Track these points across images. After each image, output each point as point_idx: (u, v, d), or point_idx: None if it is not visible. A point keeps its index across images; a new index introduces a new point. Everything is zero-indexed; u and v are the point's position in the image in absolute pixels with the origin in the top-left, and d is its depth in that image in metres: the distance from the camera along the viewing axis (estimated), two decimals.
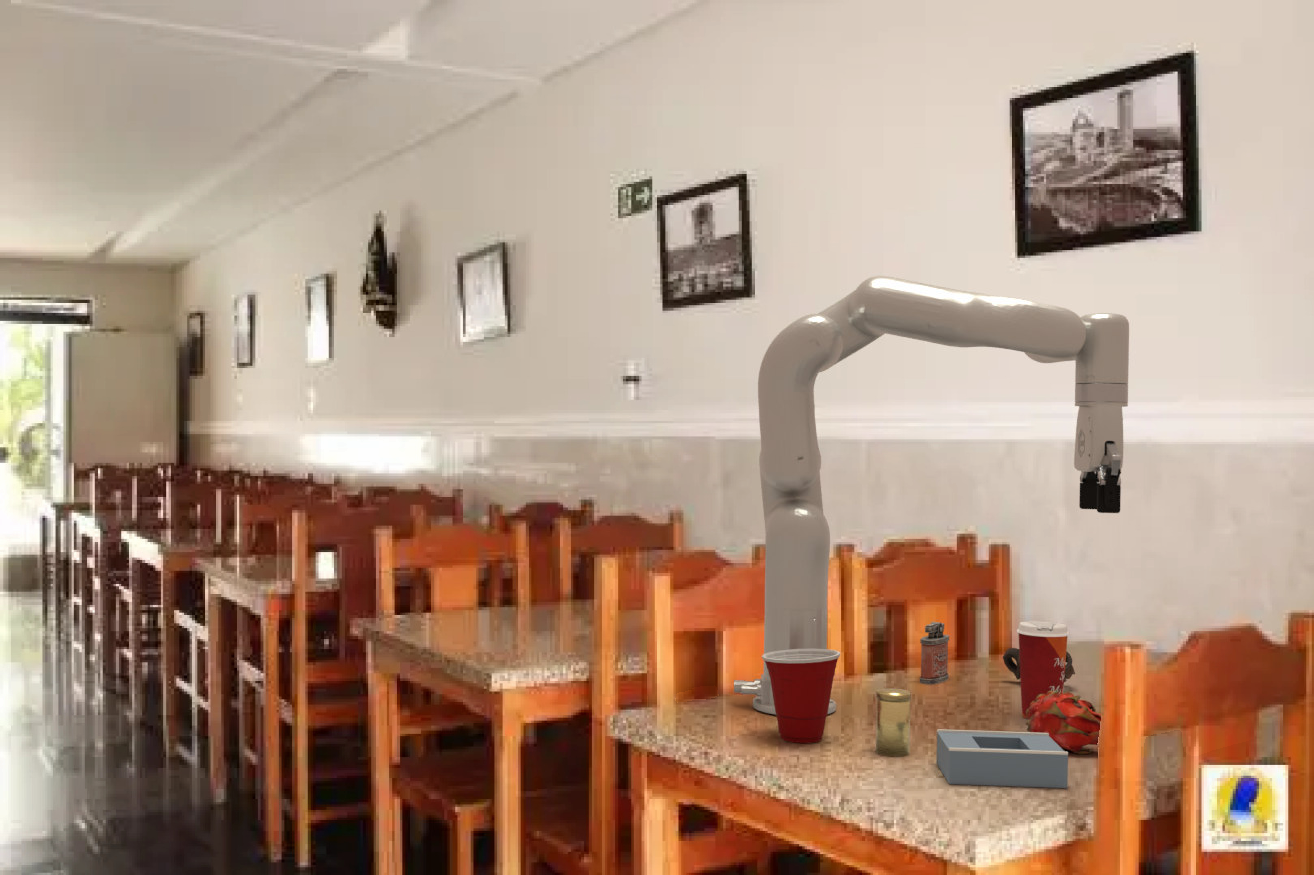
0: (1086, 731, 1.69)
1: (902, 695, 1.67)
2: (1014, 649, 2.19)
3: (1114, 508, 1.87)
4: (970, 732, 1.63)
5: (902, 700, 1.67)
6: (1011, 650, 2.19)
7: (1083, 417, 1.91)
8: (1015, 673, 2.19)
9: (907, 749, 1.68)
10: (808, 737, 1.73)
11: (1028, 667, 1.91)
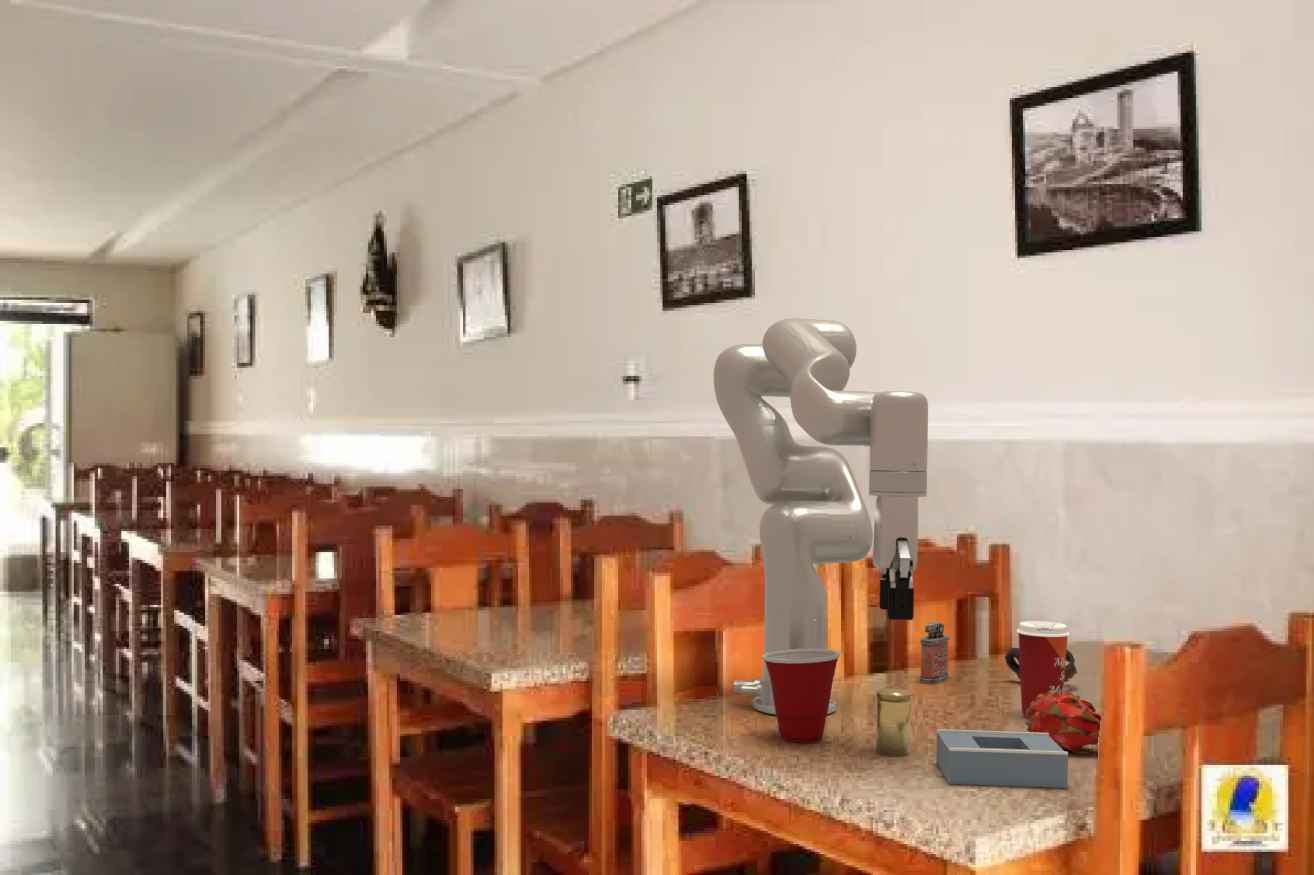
0: (1086, 731, 1.69)
1: (902, 695, 1.67)
2: (1016, 649, 2.19)
3: (906, 614, 1.64)
4: (970, 732, 1.63)
5: (902, 700, 1.67)
6: (1013, 649, 2.19)
7: (877, 508, 1.69)
8: (1017, 673, 2.19)
9: (907, 749, 1.68)
10: (808, 737, 1.73)
11: (1028, 667, 1.91)
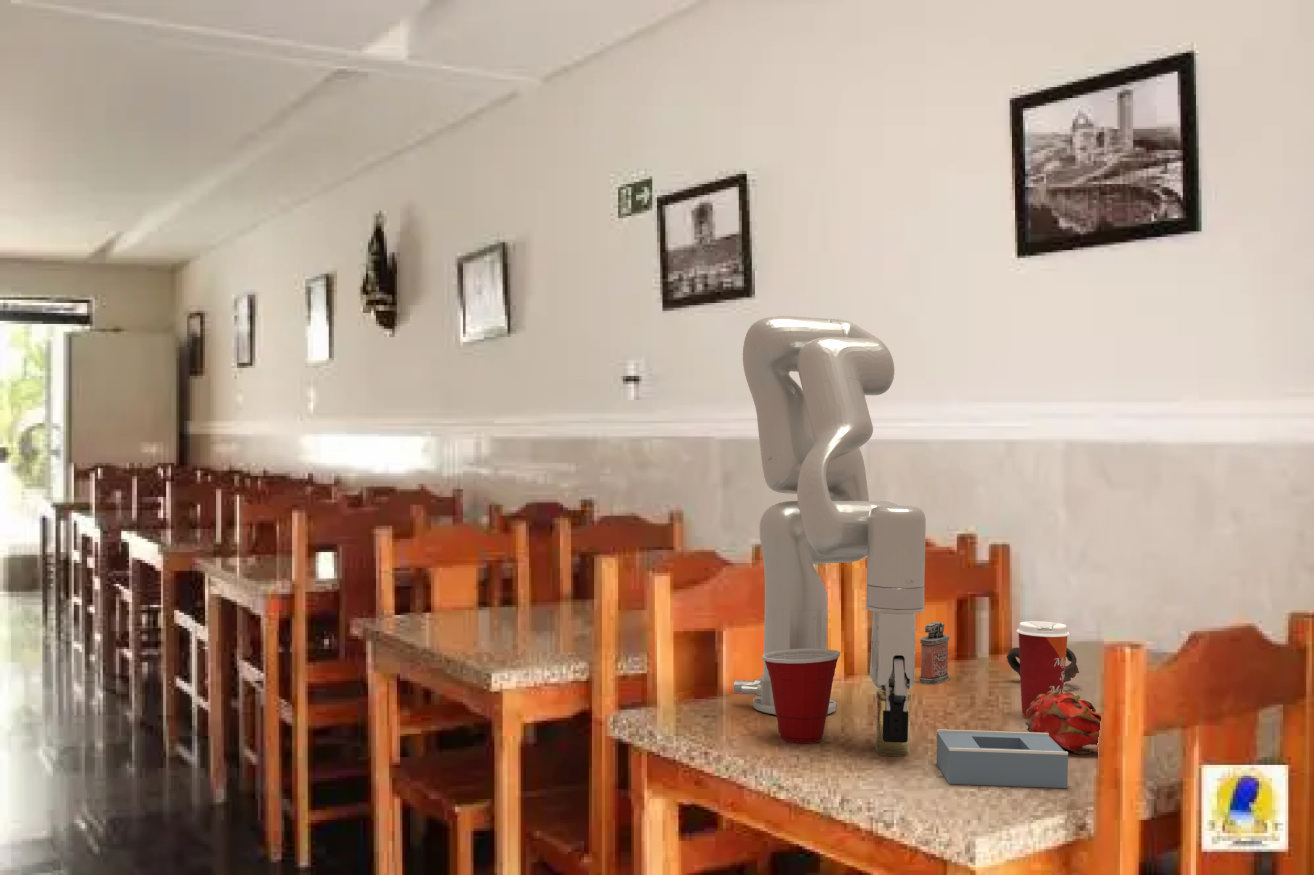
0: (1086, 731, 1.69)
1: None
2: (1018, 648, 2.20)
3: (901, 737, 1.67)
4: (970, 732, 1.63)
5: None
6: (1015, 649, 2.20)
7: (874, 623, 1.69)
8: (1019, 672, 2.19)
9: (907, 749, 1.68)
10: (808, 737, 1.73)
11: (1028, 667, 1.91)
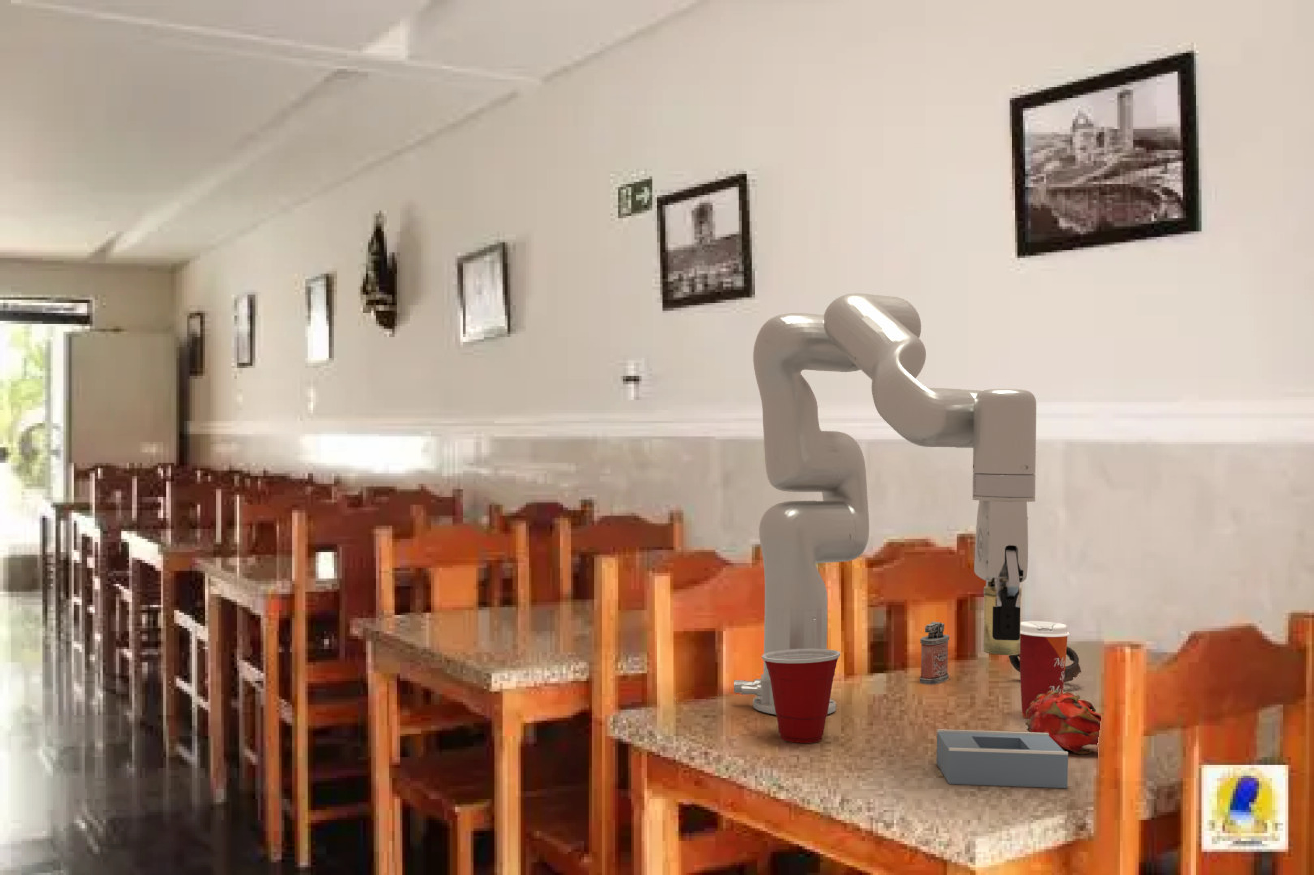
0: (1086, 731, 1.69)
1: None
2: None
3: (1013, 634, 1.56)
4: (970, 732, 1.63)
5: None
6: None
7: (982, 514, 1.58)
8: None
9: (1018, 648, 1.57)
10: (808, 737, 1.73)
11: (1028, 667, 1.91)
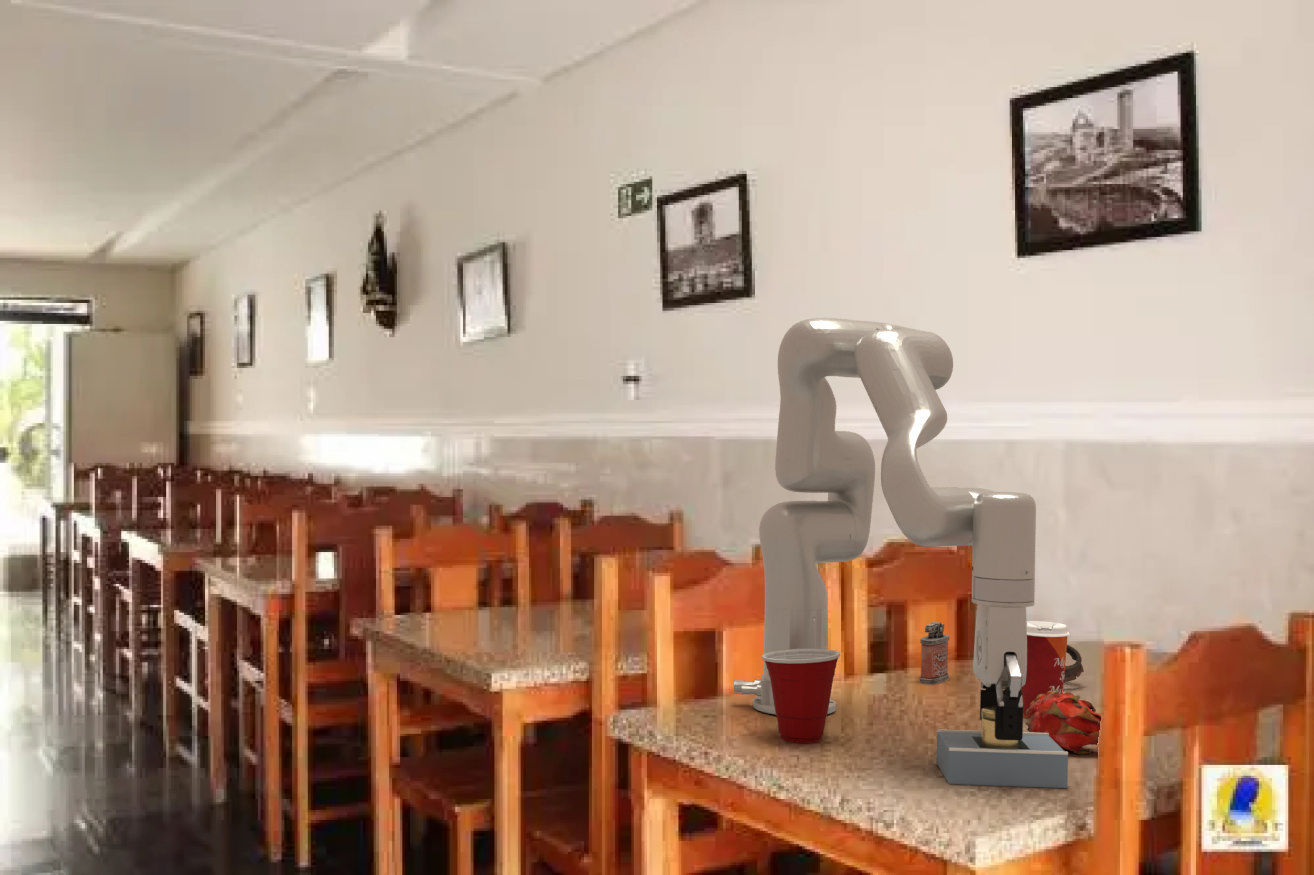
0: (1086, 731, 1.69)
1: None
2: None
3: (1015, 734, 1.53)
4: (970, 732, 1.63)
5: None
6: None
7: (981, 617, 1.58)
8: None
9: None
10: (808, 737, 1.73)
11: (1028, 667, 1.91)
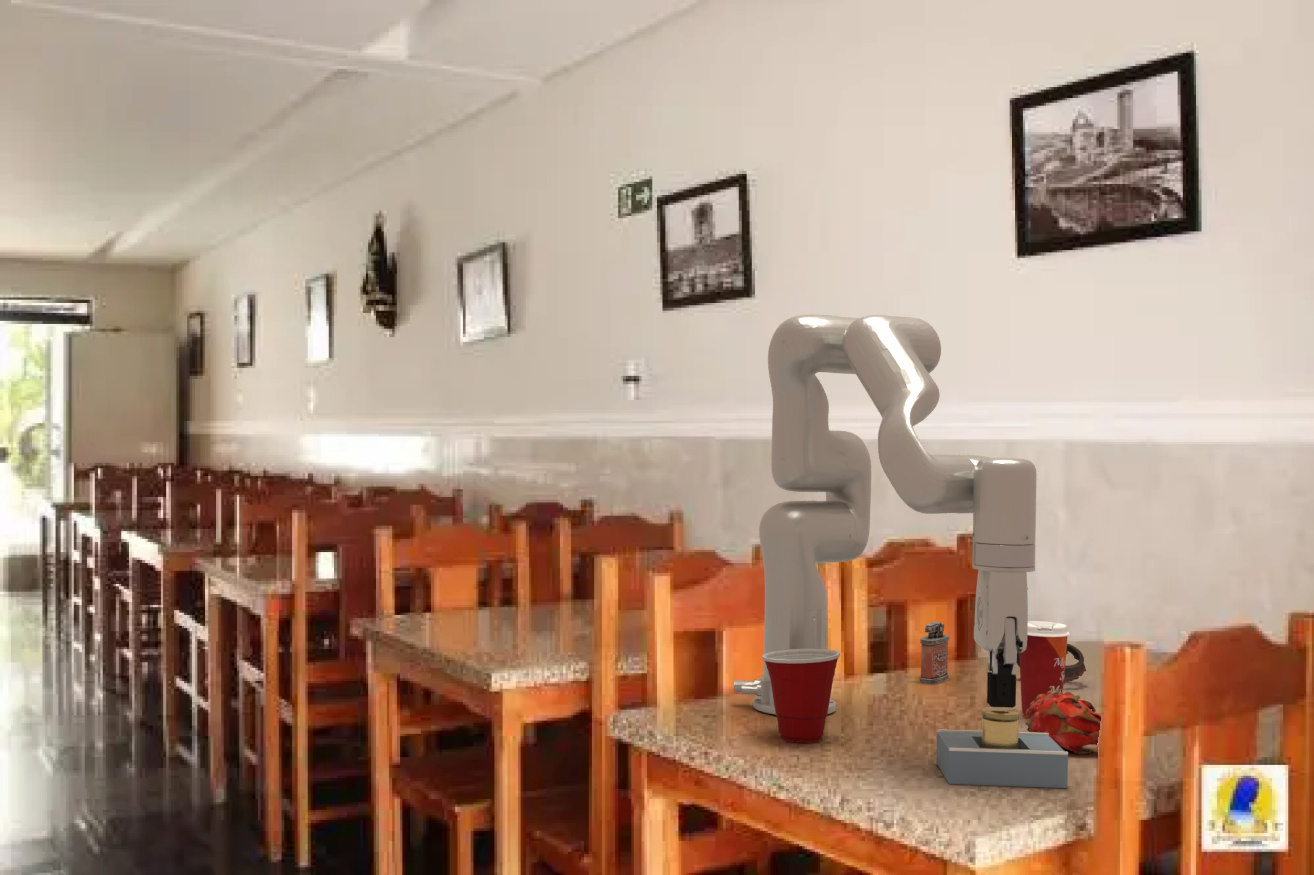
0: (1086, 731, 1.69)
1: (1011, 714, 1.57)
2: None
3: (1008, 702, 1.58)
4: (970, 732, 1.63)
5: (1011, 720, 1.57)
6: None
7: (981, 583, 1.58)
8: None
9: None
10: (808, 737, 1.73)
11: (1028, 667, 1.91)
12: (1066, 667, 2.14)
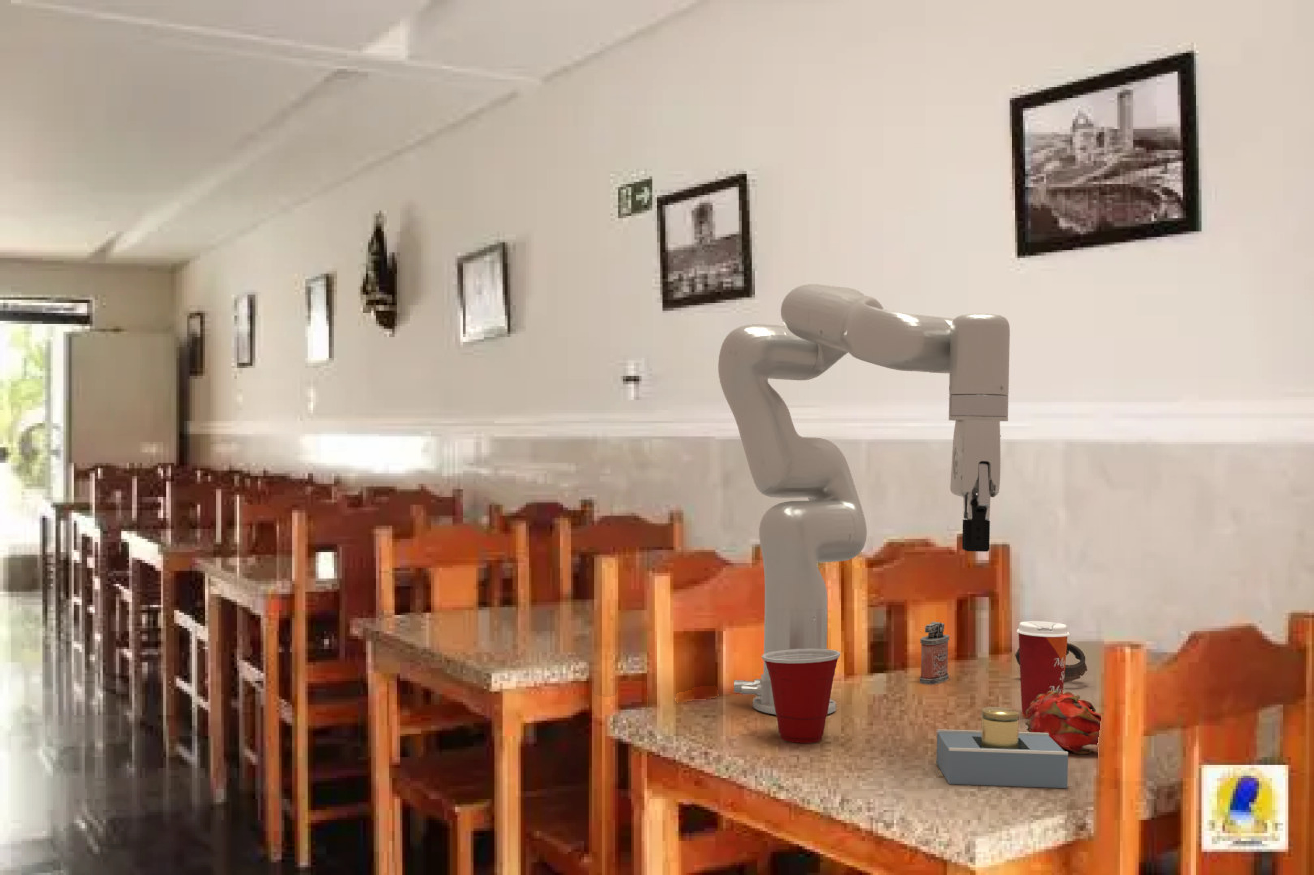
0: (1086, 731, 1.69)
1: (1011, 714, 1.57)
2: None
3: (982, 546, 1.66)
4: (970, 732, 1.63)
5: (1011, 720, 1.57)
6: None
7: (957, 433, 1.66)
8: None
9: None
10: (808, 737, 1.73)
11: (1028, 667, 1.91)
12: (1068, 667, 2.15)
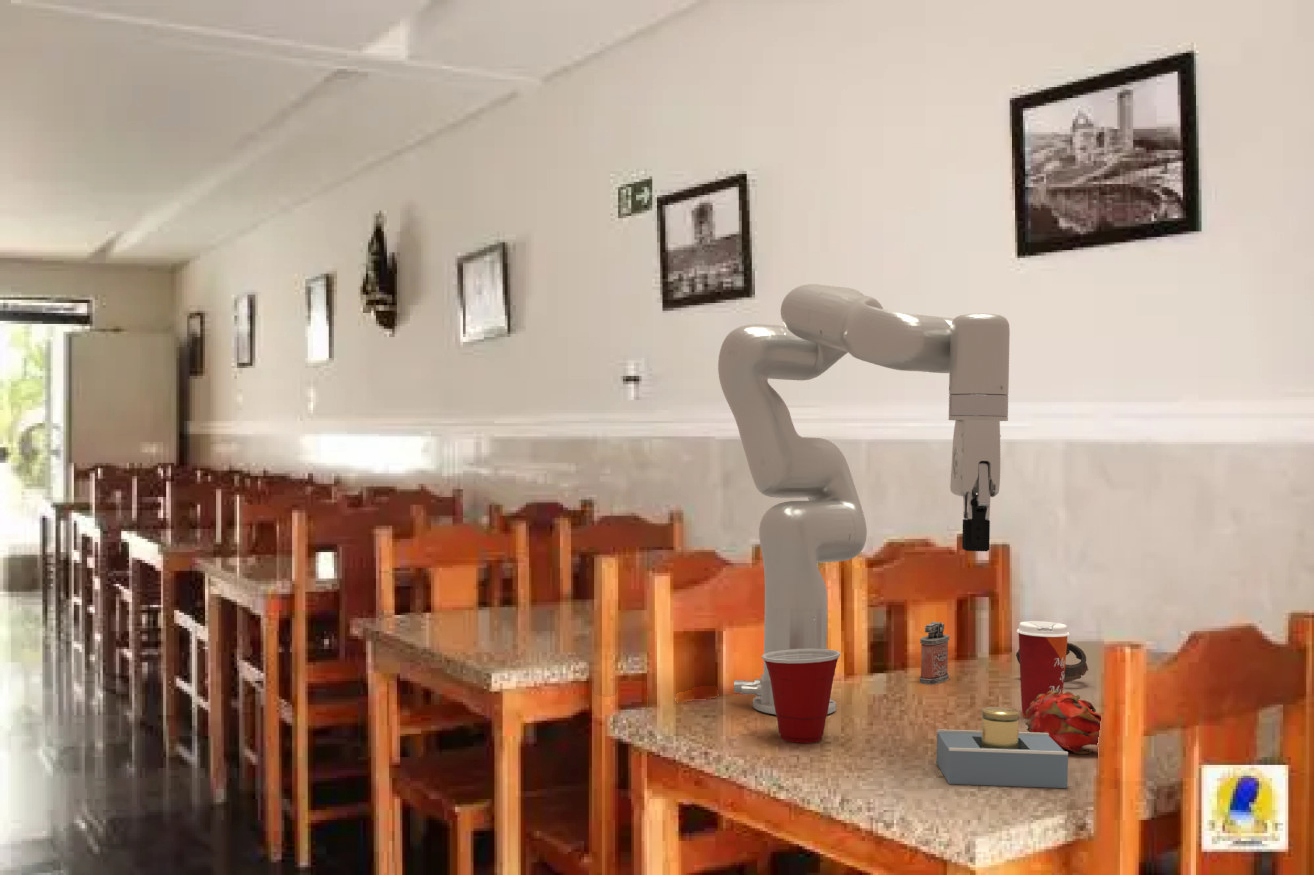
0: (1086, 731, 1.69)
1: (1011, 714, 1.57)
2: None
3: (982, 546, 1.66)
4: (970, 732, 1.63)
5: (1011, 720, 1.57)
6: None
7: (957, 433, 1.66)
8: None
9: None
10: (808, 737, 1.73)
11: (1028, 667, 1.91)
12: (1069, 666, 2.15)
